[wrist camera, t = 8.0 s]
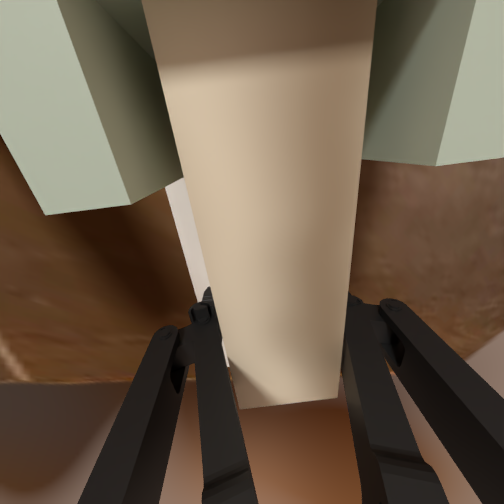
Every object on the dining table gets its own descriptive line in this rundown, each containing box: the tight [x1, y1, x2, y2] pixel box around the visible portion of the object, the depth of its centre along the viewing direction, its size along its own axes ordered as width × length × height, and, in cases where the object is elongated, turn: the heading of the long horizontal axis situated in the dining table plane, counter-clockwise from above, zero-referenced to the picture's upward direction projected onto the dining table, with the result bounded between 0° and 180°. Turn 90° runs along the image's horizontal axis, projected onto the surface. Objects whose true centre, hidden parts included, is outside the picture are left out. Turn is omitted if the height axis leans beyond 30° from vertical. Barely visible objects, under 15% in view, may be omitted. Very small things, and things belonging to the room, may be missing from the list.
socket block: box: [0, 0, 504, 215], centre depth 9 cm, size 11×8×12 cm
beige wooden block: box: [141, 0, 377, 409], centre depth 12 cm, size 5×15×10 cm, turn 6°
